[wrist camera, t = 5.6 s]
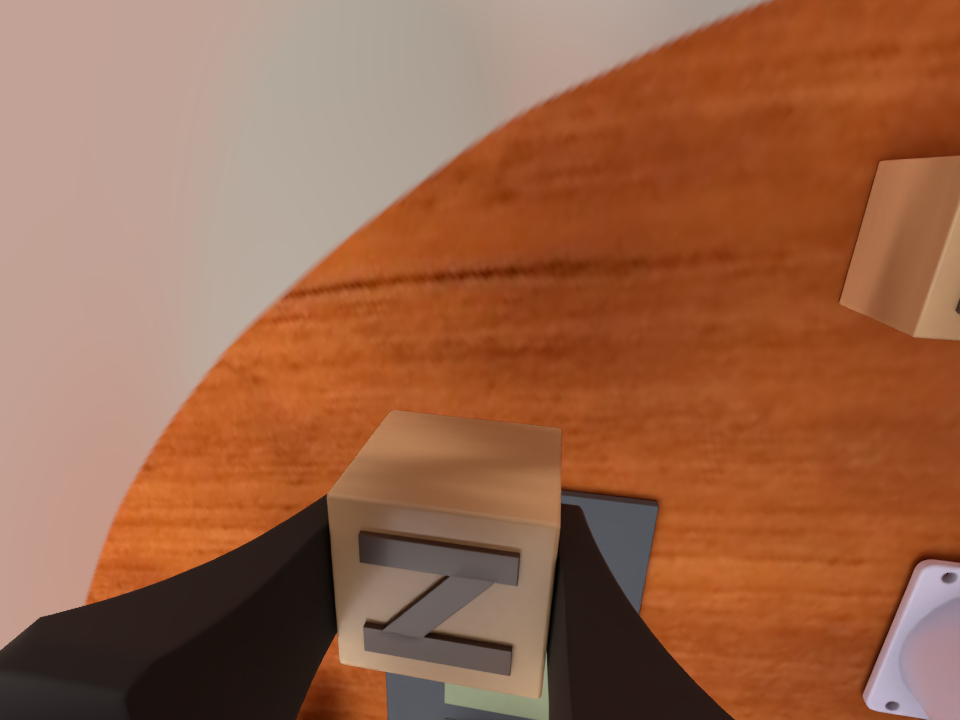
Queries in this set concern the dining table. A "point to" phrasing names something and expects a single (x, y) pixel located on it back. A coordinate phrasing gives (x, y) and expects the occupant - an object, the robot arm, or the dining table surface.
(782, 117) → the dining table surface
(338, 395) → the dining table surface
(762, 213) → the dining table surface
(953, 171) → the tile
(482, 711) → the word mat
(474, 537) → the tile
